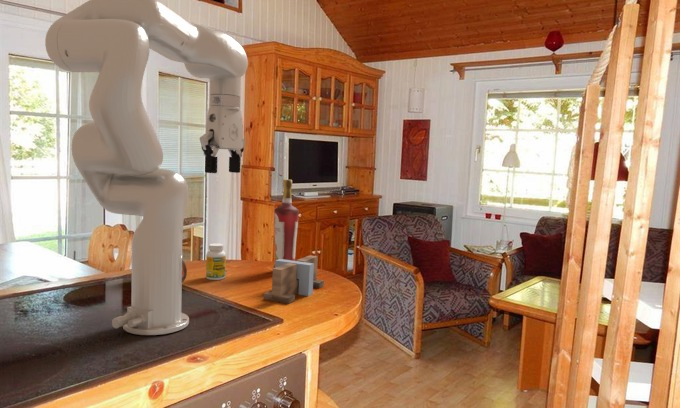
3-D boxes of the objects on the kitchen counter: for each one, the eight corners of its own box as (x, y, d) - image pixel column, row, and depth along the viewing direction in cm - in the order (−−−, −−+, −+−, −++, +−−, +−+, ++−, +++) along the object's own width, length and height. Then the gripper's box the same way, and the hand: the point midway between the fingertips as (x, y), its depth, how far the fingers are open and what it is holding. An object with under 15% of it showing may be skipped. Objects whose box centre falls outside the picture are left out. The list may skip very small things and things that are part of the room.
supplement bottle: (219, 275, 147) (219, 242, 146) (229, 278, 143) (229, 245, 142) (202, 277, 143) (202, 243, 142) (212, 281, 139) (212, 246, 139)
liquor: (269, 269, 157) (272, 178, 154) (291, 268, 160) (295, 179, 157) (276, 274, 150) (279, 180, 148) (300, 273, 153) (303, 180, 151)
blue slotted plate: (312, 293, 131) (313, 263, 131) (308, 296, 129) (309, 265, 128) (278, 288, 135) (279, 258, 135) (274, 290, 133) (275, 260, 132)
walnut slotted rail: (288, 304, 122) (289, 271, 121) (263, 299, 124) (264, 267, 124) (324, 285, 140) (325, 257, 139) (301, 282, 143) (302, 254, 142)
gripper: (215, 99, 117) (214, 174, 118) (256, 107, 133) (254, 173, 134) (189, 99, 120) (188, 172, 121) (232, 107, 135) (231, 171, 137)
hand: (223, 172), depth 128 cm, fingers open, 9 cm apart
